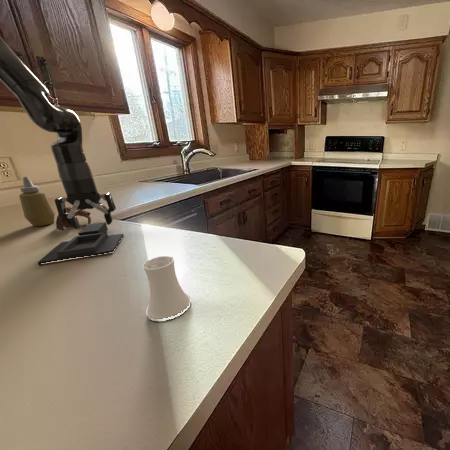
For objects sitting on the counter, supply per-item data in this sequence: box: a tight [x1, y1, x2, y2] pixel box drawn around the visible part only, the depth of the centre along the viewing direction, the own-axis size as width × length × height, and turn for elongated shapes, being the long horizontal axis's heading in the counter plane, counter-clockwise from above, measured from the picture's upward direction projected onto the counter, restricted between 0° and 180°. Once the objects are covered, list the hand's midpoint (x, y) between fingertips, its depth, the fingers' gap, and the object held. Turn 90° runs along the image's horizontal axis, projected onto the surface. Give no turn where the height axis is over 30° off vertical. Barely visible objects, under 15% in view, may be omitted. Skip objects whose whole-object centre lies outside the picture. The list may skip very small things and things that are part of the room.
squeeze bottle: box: [18, 176, 56, 227], centre depth 90 cm, size 8×8×18 cm
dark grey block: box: [78, 221, 109, 236], centre depth 81 cm, size 5×9×3 cm, turn 24°
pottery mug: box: [55, 206, 92, 231], centre depth 89 cm, size 12×10×8 cm
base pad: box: [37, 231, 124, 264], centre depth 72 cm, size 16×14×2 cm
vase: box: [142, 255, 191, 319], centre depth 45 cm, size 8×8×10 cm
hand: (93, 226), depth 81 cm, fingers open, 8 cm apart
